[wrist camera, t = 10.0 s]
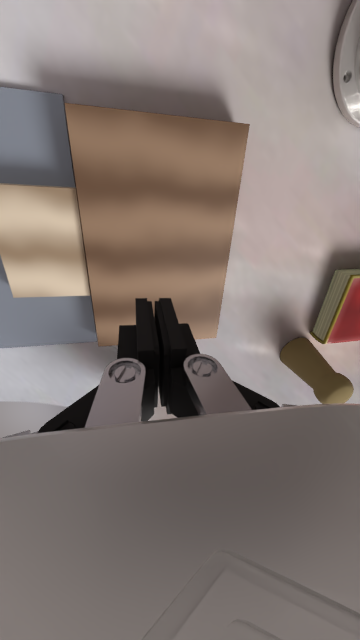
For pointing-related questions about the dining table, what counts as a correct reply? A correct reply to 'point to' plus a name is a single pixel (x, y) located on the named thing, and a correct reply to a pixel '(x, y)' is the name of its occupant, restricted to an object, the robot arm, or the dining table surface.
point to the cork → (316, 372)
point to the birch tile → (42, 241)
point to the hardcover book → (340, 309)
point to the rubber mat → (46, 170)
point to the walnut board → (155, 211)
